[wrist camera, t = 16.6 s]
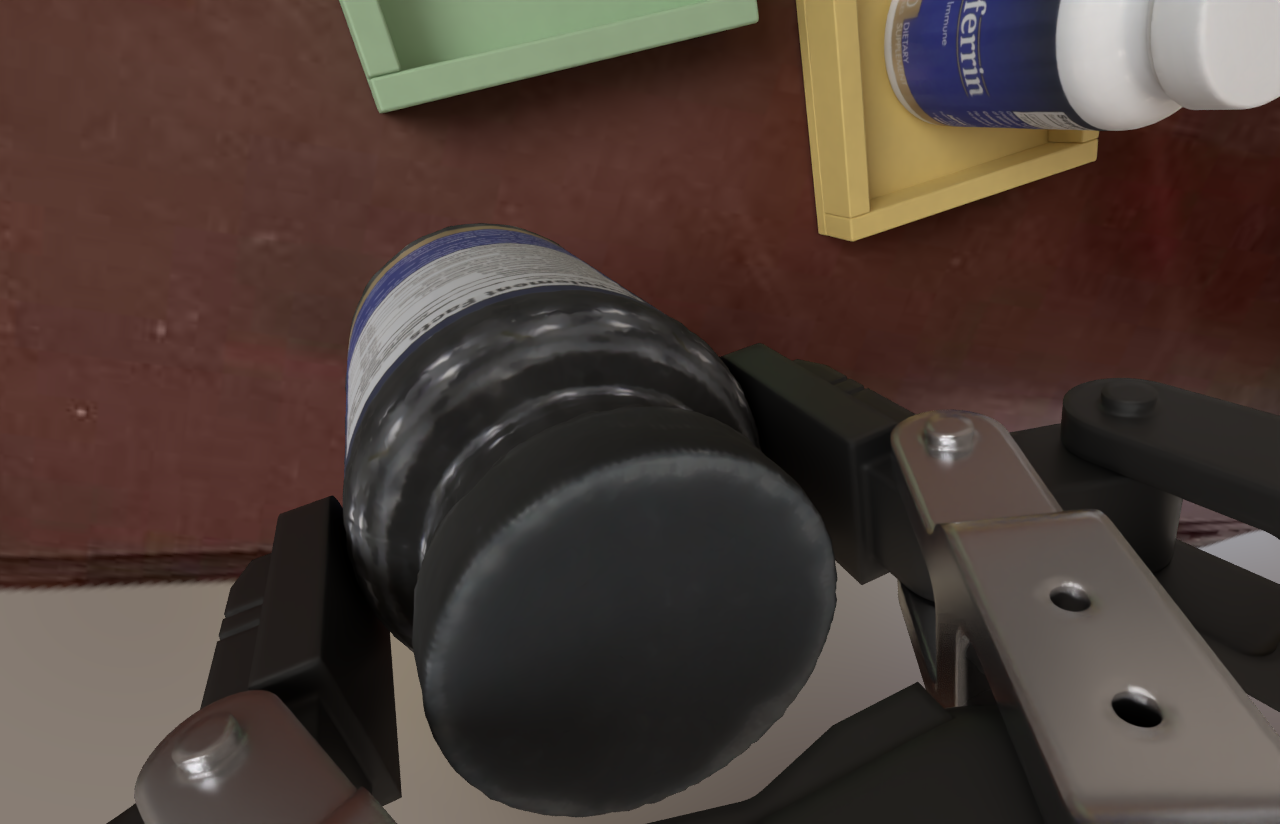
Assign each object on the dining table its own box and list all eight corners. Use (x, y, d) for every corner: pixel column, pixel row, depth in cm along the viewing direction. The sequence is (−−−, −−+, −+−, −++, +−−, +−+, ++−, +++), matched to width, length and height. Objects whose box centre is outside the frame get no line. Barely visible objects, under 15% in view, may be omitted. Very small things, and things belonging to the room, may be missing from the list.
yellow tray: (782, -128, 20) (822, -151, 19) (1067, -181, 23) (1126, -206, 21) (818, 234, 25) (852, 242, 23) (1050, 157, 27) (1097, 160, 26)
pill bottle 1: (606, 445, 19) (858, 779, 10) (366, 482, 17) (387, 949, 8) (604, 211, 17) (936, 349, 7) (324, 222, 15) (276, 432, 5)
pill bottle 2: (890, -79, 21) (1251, -209, 13) (1032, -58, 23) (1429, -160, 15) (863, 125, 24) (1156, 131, 15) (995, 129, 25) (1322, 136, 17)
